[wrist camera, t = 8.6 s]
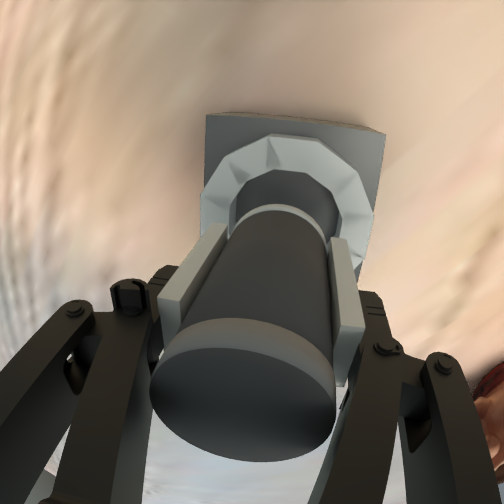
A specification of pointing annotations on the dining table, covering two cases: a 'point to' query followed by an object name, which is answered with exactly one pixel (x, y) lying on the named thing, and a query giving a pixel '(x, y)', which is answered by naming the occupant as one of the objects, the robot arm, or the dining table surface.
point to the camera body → (293, 173)
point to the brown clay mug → (493, 416)
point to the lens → (255, 346)
